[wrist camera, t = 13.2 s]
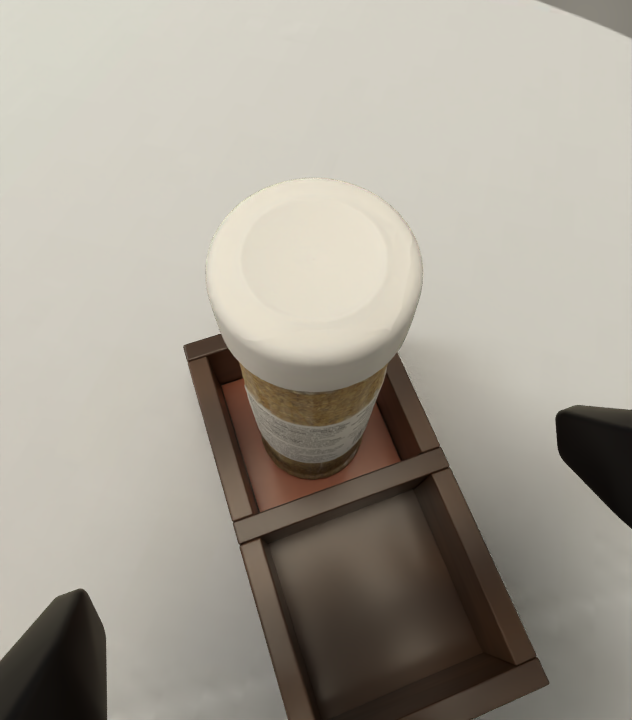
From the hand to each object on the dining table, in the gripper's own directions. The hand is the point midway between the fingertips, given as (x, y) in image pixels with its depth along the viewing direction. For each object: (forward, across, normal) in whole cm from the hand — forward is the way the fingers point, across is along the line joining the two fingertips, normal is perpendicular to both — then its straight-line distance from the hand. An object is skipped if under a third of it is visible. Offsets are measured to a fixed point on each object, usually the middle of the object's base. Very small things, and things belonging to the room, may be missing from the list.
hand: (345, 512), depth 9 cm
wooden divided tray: (+11, -2, +8) cm, 14 cm away
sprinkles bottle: (+13, -2, +5) cm, 14 cm away
